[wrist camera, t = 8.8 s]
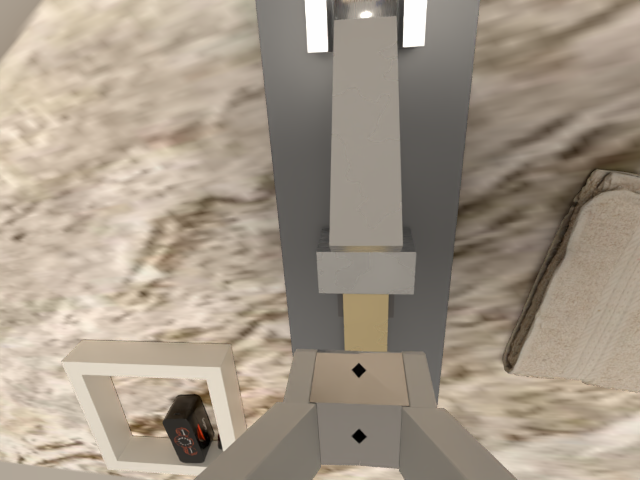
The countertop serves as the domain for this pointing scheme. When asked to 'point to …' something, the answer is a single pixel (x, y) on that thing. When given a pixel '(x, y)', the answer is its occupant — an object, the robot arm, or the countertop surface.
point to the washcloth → (587, 293)
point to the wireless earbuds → (189, 429)
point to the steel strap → (365, 129)
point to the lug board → (416, 170)
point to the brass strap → (365, 322)
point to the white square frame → (156, 362)
